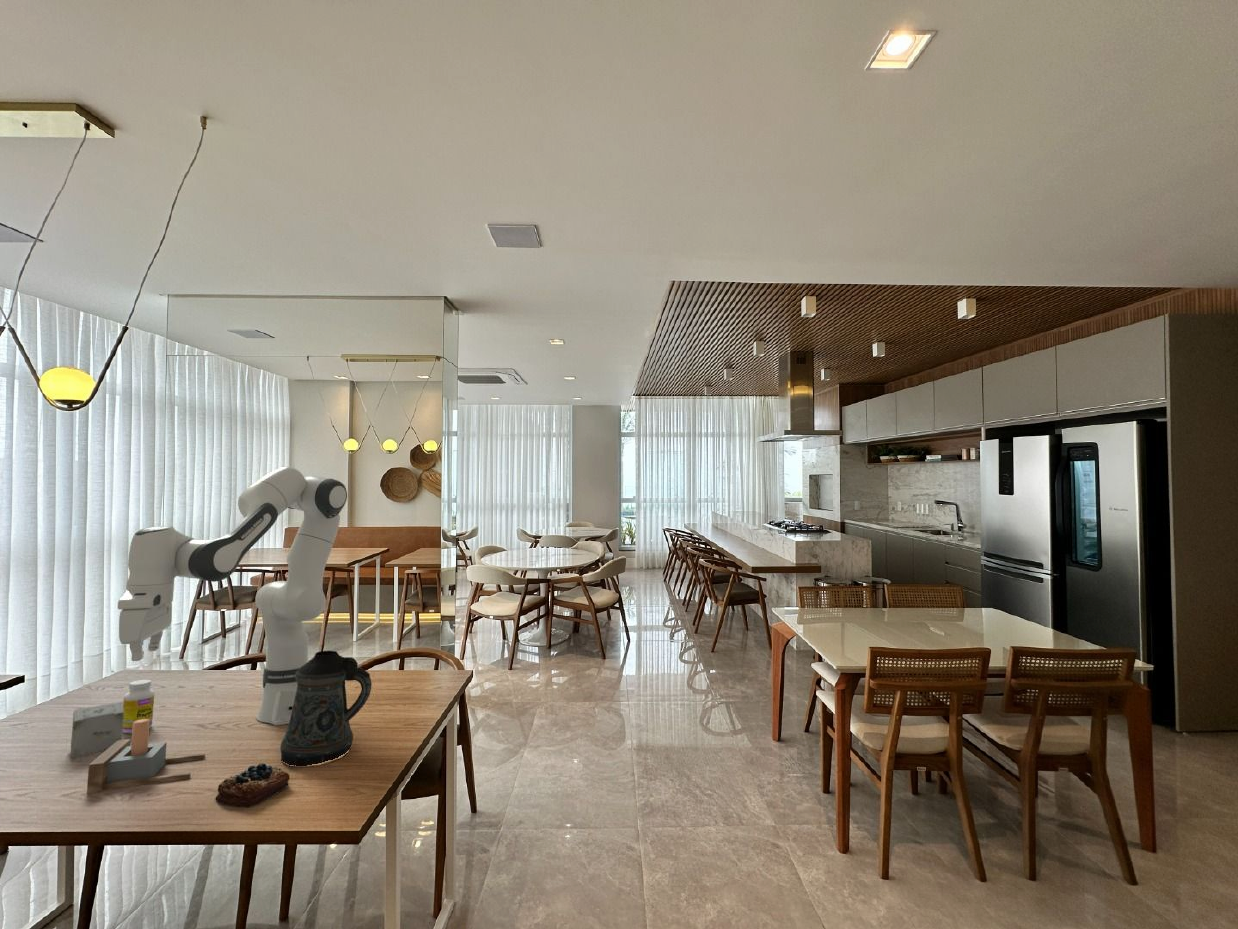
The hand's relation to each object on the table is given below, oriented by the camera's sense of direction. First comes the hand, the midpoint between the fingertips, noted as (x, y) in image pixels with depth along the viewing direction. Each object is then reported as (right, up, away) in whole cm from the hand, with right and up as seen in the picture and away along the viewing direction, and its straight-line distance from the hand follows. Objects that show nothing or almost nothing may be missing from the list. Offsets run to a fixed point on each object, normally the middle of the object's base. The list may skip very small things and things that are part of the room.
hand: (145, 655), depth 137 cm
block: (0, -27, -2) cm, 27 cm away
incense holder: (-22, -28, +11) cm, 37 cm away
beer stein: (+36, -29, +12) cm, 47 cm away
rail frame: (+2, -27, -1) cm, 27 cm away
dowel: (0, -27, -2) cm, 27 cm away
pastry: (+31, -27, -10) cm, 43 cm away
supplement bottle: (-23, -29, +25) cm, 44 cm away
